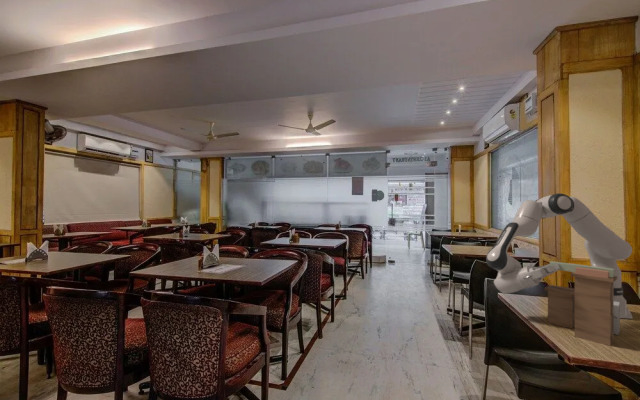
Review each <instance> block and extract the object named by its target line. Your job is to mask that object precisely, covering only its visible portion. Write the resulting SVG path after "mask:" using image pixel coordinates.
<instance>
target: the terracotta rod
mask: <svg viewBox="0 0 640 400" xmlns="http://www.w3.org/2000/svg"><path fill="white" fill-rule="evenodd" d="M576 274H580V275H587V276H594V277H601V278H609V271H604V270H596V269H588V268H580V267H576Z"/></svg>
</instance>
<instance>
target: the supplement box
mask: <svg viewBox="0 0 640 400" xmlns="http://www.w3.org/2000/svg"><path fill="white" fill-rule="evenodd" d="M620 319H621V318H620V302H615V301H614V335H616V336H619V335H620V326H621V323H620V321H621V320H620Z"/></svg>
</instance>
